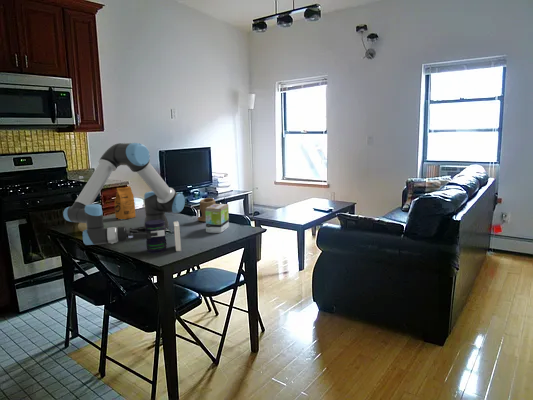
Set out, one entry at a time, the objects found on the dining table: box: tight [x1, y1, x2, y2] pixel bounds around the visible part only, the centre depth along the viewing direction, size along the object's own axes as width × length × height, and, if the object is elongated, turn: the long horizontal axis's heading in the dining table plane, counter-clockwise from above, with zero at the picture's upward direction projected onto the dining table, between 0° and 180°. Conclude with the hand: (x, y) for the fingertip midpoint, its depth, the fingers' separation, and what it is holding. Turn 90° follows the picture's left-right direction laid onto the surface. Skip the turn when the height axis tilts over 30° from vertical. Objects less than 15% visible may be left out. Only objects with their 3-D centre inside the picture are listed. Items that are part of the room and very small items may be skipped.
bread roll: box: [77, 222, 87, 233], centre depth 244 cm, size 10×15×8 cm, turn 44°
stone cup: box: [197, 197, 216, 222], centre depth 266 cm, size 15×12×15 cm
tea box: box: [205, 203, 230, 234], centre depth 241 cm, size 15×10×15 cm, turn 168°
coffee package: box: [114, 185, 137, 220], centre depth 280 cm, size 10×12×22 cm
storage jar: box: [144, 220, 168, 254], centre depth 202 cm, size 10×10×15 cm
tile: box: [173, 220, 182, 252], centre depth 205 cm, size 2×10×13 cm, turn 15°
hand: (164, 230), depth 203 cm, fingers closed on storage jar, 10 cm apart
